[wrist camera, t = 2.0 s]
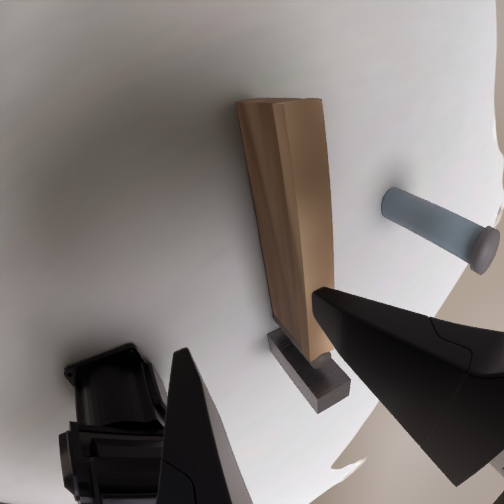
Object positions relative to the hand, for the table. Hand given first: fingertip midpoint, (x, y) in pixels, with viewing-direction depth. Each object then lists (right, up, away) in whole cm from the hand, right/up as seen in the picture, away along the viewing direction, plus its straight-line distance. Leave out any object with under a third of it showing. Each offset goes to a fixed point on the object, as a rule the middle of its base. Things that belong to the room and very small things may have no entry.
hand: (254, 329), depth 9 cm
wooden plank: (+1, +4, +13) cm, 14 cm away
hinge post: (+3, -5, +19) cm, 20 cm away
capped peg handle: (+13, +7, +18) cm, 23 cm away
